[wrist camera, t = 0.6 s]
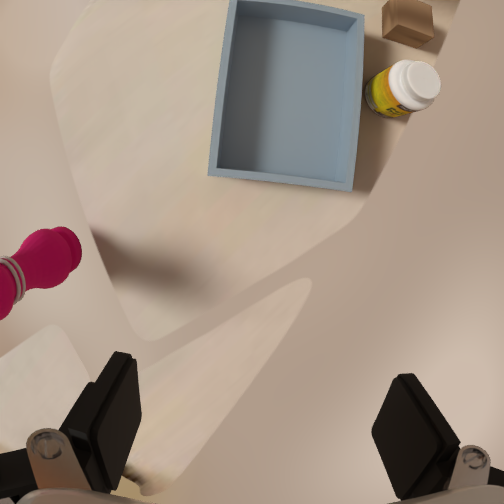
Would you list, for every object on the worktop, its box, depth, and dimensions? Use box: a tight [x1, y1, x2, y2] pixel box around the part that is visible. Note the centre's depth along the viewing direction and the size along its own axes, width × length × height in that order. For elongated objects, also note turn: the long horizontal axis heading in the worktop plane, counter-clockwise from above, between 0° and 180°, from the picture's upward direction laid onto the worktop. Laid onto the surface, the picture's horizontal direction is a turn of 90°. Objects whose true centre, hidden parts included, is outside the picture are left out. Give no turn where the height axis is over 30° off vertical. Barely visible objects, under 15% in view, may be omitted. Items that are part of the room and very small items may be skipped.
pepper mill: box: [0, 227, 82, 320], centre depth 28 cm, size 7×7×20 cm
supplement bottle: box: [365, 60, 441, 118], centre depth 29 cm, size 6×6×10 cm
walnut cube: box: [382, 0, 434, 48], centre depth 29 cm, size 5×5×5 cm
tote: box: [208, 0, 364, 192], centre depth 31 cm, size 21×15×5 cm
